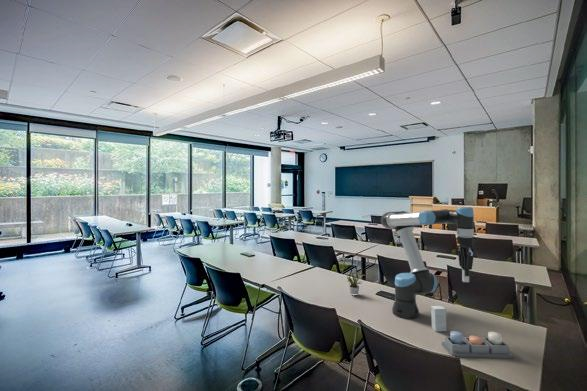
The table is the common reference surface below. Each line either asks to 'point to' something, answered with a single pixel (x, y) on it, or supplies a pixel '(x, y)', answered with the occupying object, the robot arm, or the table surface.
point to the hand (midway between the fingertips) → (465, 281)
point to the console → (477, 349)
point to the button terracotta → (475, 340)
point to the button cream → (495, 338)
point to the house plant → (354, 287)
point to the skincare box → (438, 318)
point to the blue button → (456, 337)
